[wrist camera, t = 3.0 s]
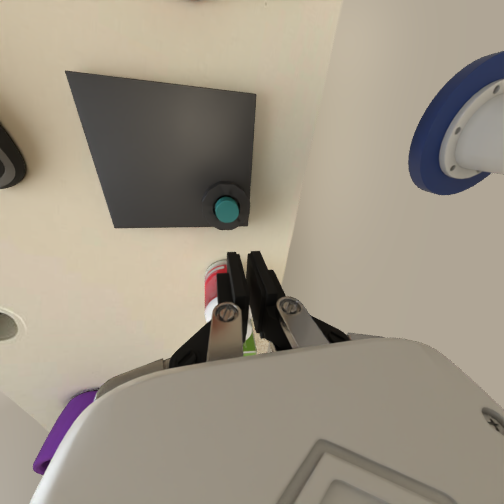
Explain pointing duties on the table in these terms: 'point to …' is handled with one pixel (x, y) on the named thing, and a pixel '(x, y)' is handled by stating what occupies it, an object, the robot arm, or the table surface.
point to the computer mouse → (9, 162)
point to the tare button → (226, 209)
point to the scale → (167, 149)
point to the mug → (62, 429)
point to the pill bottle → (212, 292)
